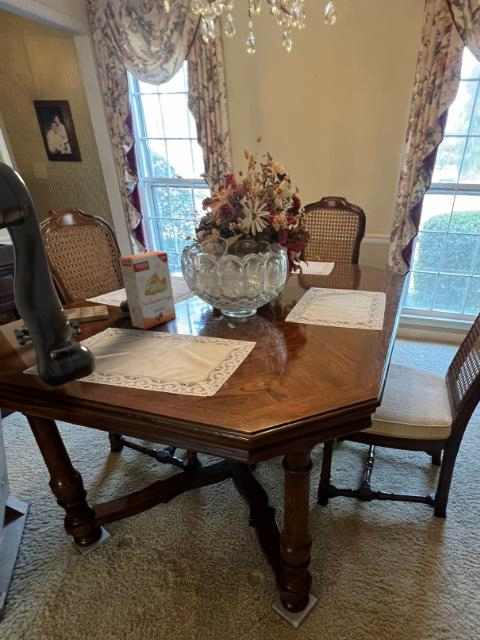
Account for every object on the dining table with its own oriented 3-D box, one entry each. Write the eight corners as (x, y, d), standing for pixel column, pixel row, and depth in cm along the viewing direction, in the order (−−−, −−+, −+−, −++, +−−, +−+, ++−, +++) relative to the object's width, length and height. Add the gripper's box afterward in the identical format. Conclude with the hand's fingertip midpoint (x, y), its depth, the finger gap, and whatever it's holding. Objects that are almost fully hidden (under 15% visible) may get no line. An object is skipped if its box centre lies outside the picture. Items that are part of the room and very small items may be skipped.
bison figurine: (116, 318, 125) (109, 288, 121) (129, 312, 131) (123, 283, 126) (148, 322, 123) (142, 290, 118) (160, 315, 129) (155, 285, 124)
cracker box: (146, 330, 116) (132, 258, 106) (132, 327, 118) (116, 256, 108) (177, 317, 127) (167, 251, 117) (164, 315, 129) (152, 250, 119)
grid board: (54, 325, 119) (52, 320, 119) (55, 315, 129) (54, 310, 128) (109, 318, 126) (108, 313, 125) (106, 309, 135) (105, 304, 134)
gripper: (83, 321, 92) (70, 306, 103) (13, 333, 84) (7, 315, 96) (91, 350, 96) (78, 332, 107) (25, 363, 88) (18, 343, 99)
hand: (45, 324), depth 101 cm, fingers open, 8 cm apart
